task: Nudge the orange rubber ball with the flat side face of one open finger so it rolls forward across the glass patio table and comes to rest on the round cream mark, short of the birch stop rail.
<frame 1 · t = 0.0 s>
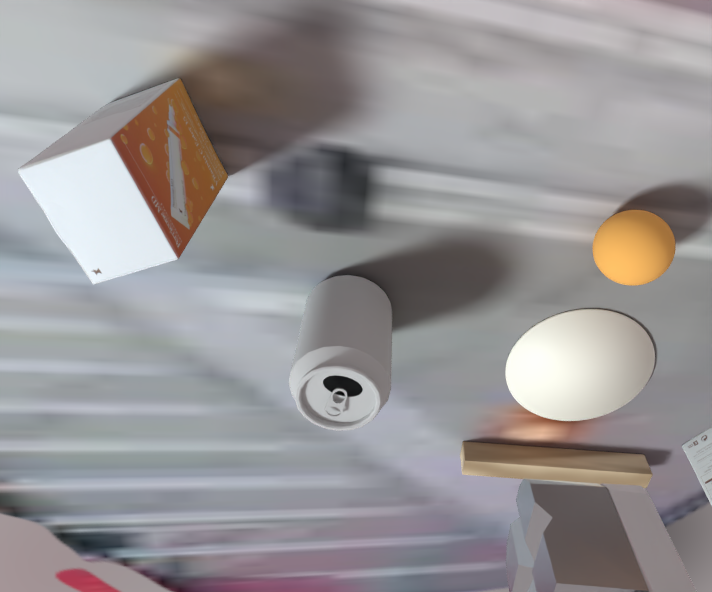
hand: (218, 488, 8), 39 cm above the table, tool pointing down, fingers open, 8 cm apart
small box: (170, 139, 47), on the table
can: (349, 304, 54), on the table
stop rail: (551, 454, 63), on the table
ball: (633, 247, 46), on the table
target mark: (578, 367, 56), on the table
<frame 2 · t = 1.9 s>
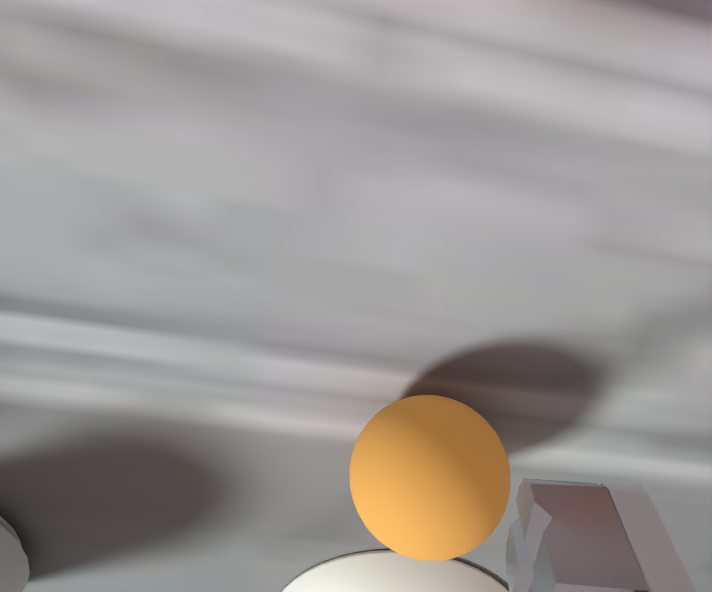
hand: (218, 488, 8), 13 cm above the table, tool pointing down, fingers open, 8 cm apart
ball: (428, 475, 22), on the table
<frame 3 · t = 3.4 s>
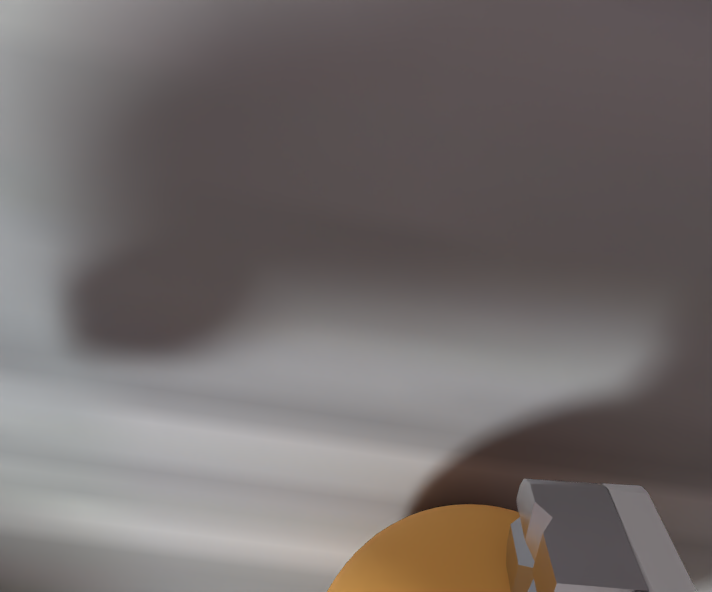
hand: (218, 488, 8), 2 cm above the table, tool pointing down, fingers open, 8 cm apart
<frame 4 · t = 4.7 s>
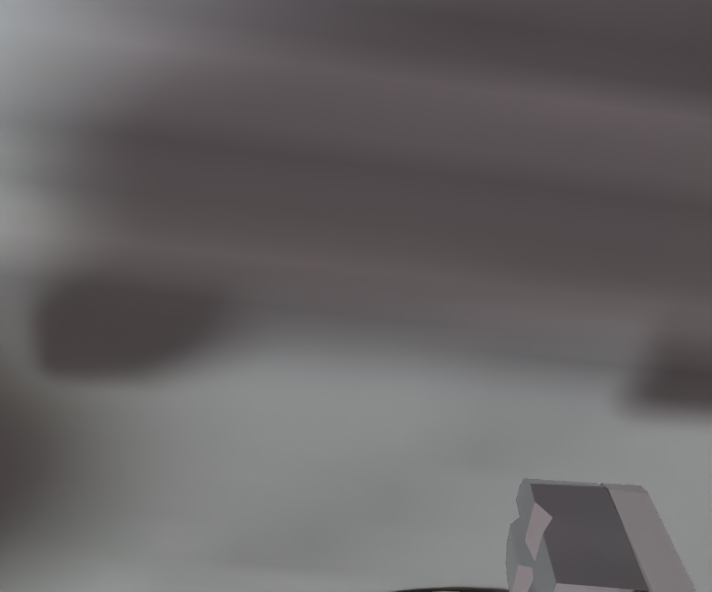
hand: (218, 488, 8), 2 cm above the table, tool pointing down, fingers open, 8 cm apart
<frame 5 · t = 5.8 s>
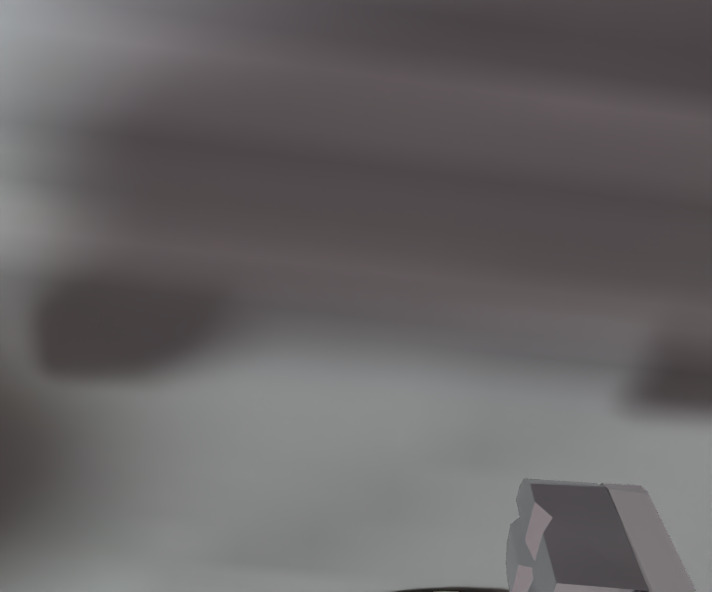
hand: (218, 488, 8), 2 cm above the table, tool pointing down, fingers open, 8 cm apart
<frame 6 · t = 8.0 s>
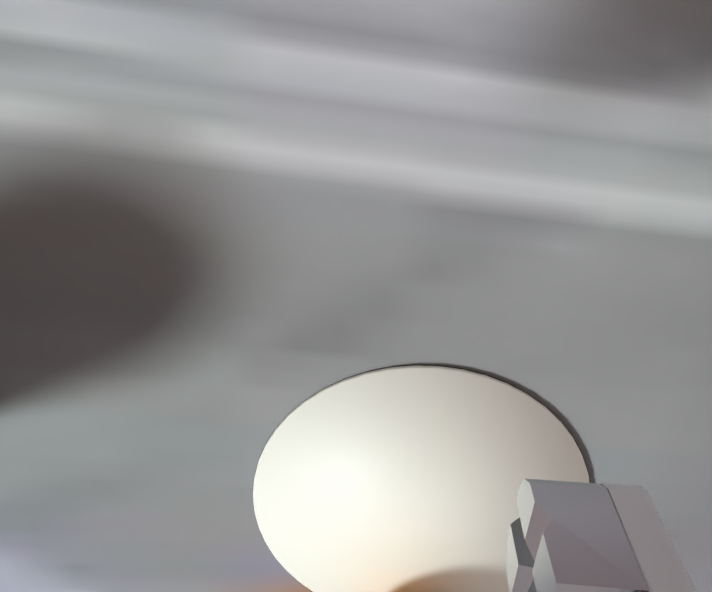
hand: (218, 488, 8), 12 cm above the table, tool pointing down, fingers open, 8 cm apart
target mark: (418, 506, 24), on the table
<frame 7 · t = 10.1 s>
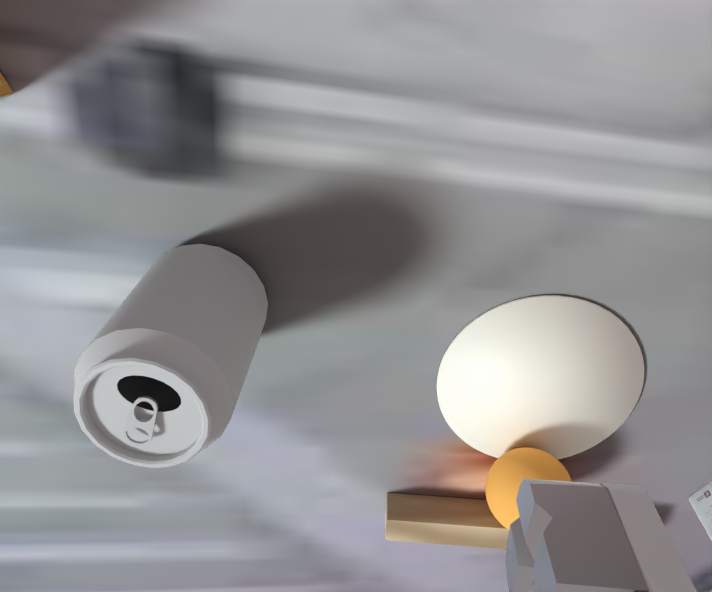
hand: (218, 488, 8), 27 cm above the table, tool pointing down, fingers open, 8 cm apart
can: (211, 292, 38), on the table
stop rail: (509, 511, 45), on the table
ball: (528, 491, 41), on the table
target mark: (538, 384, 40), on the table
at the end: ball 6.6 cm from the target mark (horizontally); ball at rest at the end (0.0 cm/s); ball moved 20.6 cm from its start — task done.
